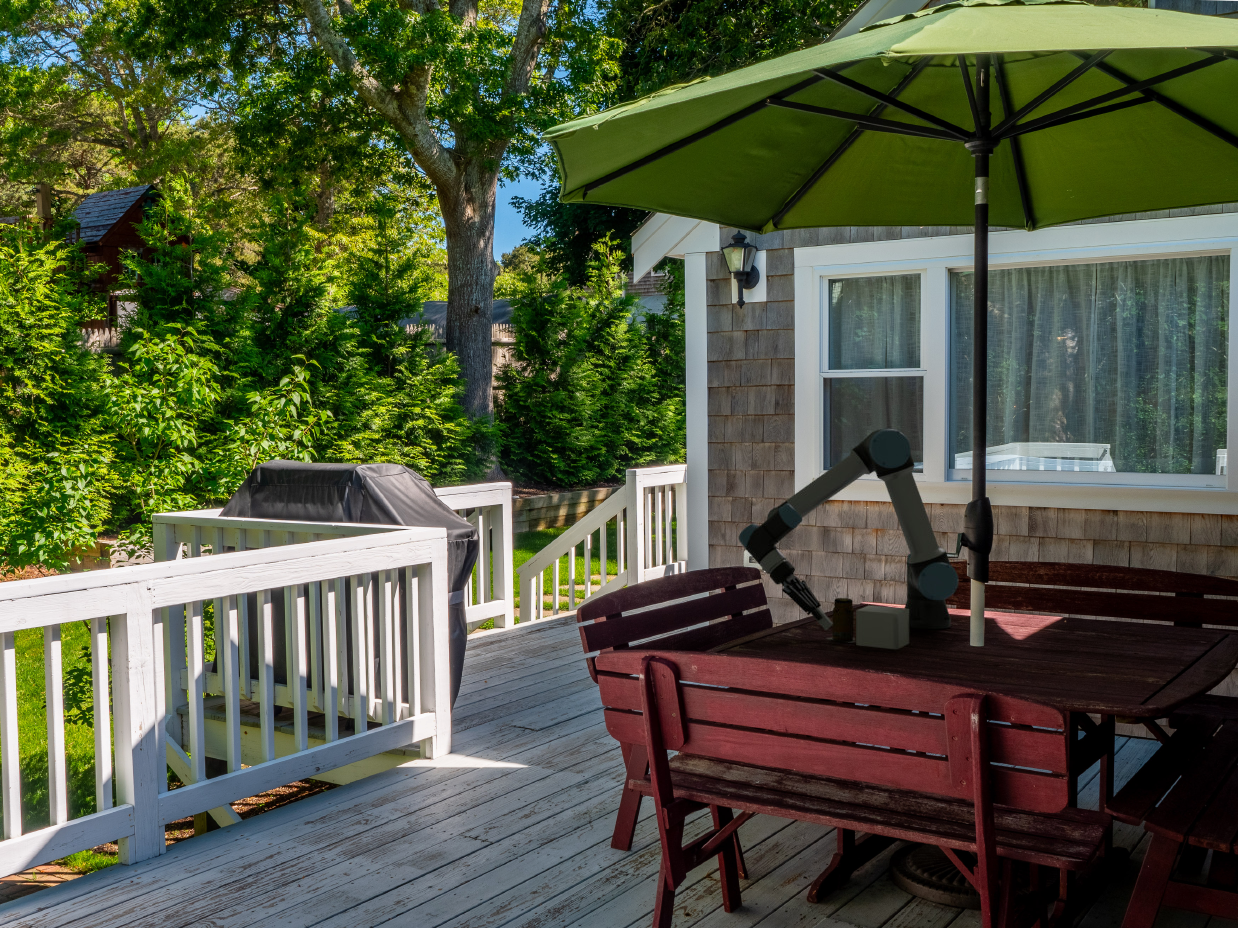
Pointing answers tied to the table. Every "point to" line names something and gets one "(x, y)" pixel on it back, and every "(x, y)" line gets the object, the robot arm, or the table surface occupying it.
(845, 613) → the condiment
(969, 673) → the table surface
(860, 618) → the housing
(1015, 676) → the table surface
